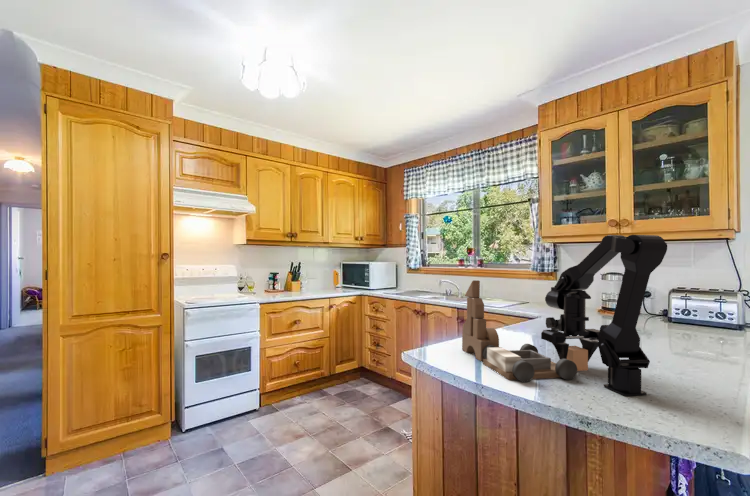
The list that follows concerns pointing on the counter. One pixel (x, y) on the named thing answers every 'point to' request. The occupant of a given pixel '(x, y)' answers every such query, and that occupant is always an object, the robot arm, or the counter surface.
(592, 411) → the counter surface
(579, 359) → the orange block
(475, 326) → the wooden toy
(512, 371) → the chassis
